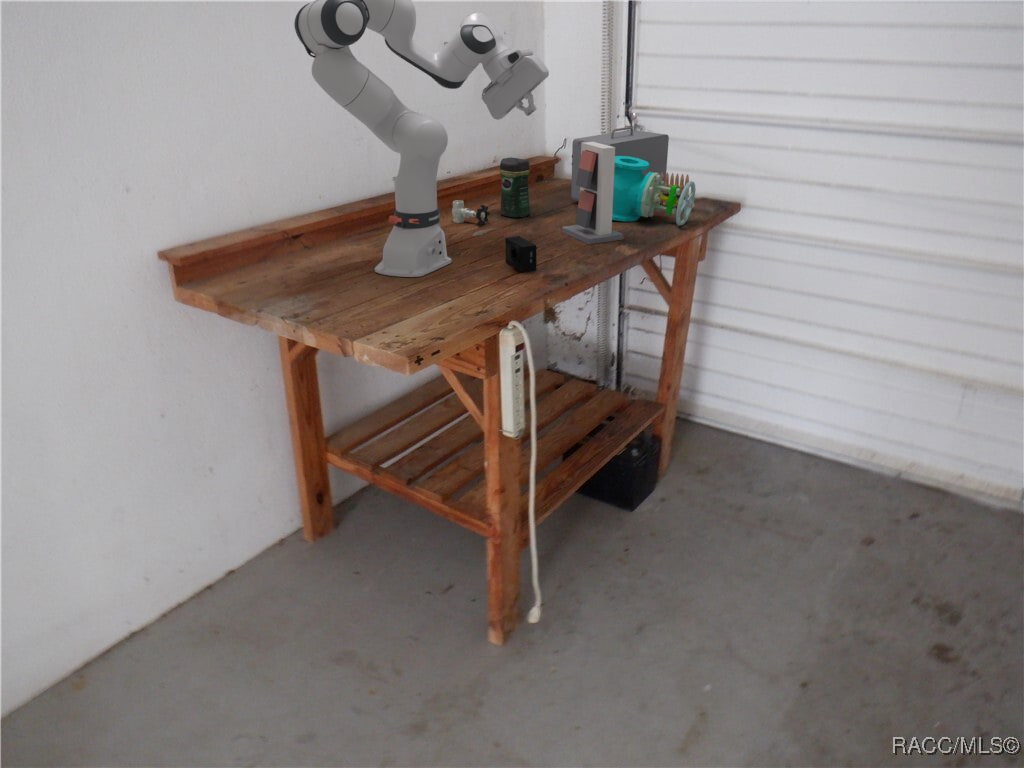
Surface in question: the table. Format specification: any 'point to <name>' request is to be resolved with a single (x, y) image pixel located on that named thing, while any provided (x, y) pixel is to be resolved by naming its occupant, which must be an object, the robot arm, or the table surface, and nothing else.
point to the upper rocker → (586, 169)
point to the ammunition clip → (681, 186)
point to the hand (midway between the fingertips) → (531, 112)
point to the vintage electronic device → (626, 151)
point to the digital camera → (520, 253)
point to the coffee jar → (514, 187)
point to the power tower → (598, 198)
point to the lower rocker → (584, 209)
